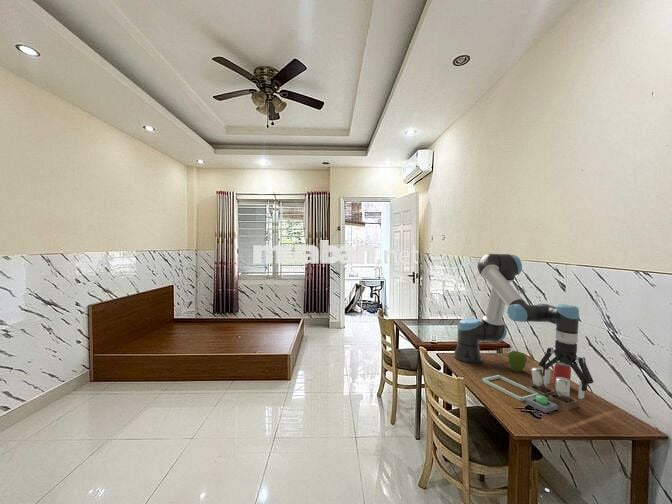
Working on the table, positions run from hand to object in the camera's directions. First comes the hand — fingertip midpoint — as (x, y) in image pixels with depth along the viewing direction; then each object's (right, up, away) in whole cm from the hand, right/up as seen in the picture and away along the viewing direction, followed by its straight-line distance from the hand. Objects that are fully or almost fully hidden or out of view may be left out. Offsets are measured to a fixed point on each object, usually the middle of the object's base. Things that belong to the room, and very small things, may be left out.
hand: (563, 390), depth 133 cm
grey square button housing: (-12, -6, -3) cm, 14 cm away
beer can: (+12, -7, +17) cm, 22 cm away
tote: (-17, -5, +12) cm, 21 cm away
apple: (0, -6, +35) cm, 36 cm away
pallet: (-2, -6, +4) cm, 8 cm away
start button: (-12, -4, -3) cm, 13 cm away
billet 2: (0, -5, 0) cm, 5 cm away
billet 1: (-4, -4, +8) cm, 10 cm away
